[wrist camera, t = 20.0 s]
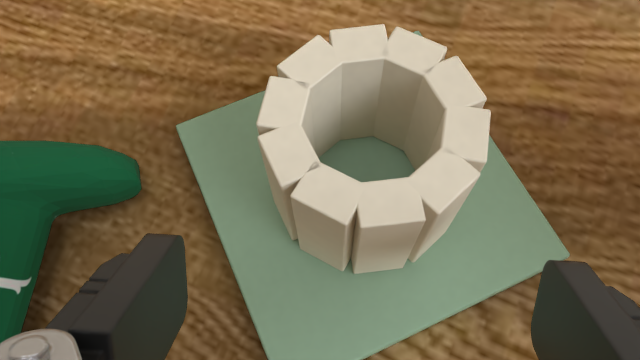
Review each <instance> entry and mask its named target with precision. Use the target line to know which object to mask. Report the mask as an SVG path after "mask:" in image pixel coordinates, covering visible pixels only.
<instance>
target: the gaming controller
mask: <svg viewBox="0 0 640 360" xmlns="http://www.w3.org/2000/svg"><path fill="white" fill-rule="evenodd" d="M140 190H141V180H140V171H139V165H138V163H137V161H136V160H134V159H132V158H130V157H128V156H127V155H125V154H123V153H120V152H117V151H114V150H110V149H107V148H104V147H101V146H97V145H87V144H76V143H66V142H54V141H0V343H1V342H3V341H5V340H7V339H9V338H11V337H13V336H15V335H18V334H20V333H21V330H22V327H23V323H24V320H25V317H26V313H27V310H28V307H29V303H30V300H31V297H32V293H33V290H34V287H35V283H36V280H37V276H38V273H39V269H40V265H41V262H42V258H43V255H44V251H45V247H46V244H47V240H48V236H49V233H50V229H51V225H52V222H53V221H54V220H55V218H56V217H58V216H59V215H61V214H64V213H68V212H73V211H78V210H84V209H90V208H95V207H101V206H107V205H112V204H116V203H119V202H122V201H125V200H127V199H130V198H132V197H134V196H136V195H137V194H138V193H139V192H140Z"/></svg>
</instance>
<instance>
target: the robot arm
mask: <svg viewBox="0 0 640 360" xmlns="http://www.w3.org/2000/svg"><path fill="white" fill-rule="evenodd" d="M187 299H188V295H187V278H186V262H185V246H184V241H183V238H182V236H180V235H165V234H150V233H149V234H146V235H145V236H144V237H143V238H142V240H141V241H140V242H139V243H138V245H137V246H136V247H135V248H134V249H133V251H132V252H131V253H130V254H123V253H121V254H119V255H118V256H116V257H114V258H112V259H111V260H109V261H107V262H105V263H104V264H102V265H101V266H100V267H99V268H98V269H97V270H96V272H95V273H94V274H93V275H92V276H91V277H90V278H89V281H87V282H86V283H85V284H84V285H83V286H82V287H81V288H80V289H79V293H76V294H75V295H74V296H73V297H72V298H71V300H70V301H69V302H68V303H67V304H66V305H65V306H64V307H63V309H62V310H61V311H60V312H59V313H58V314H57V315H56V316H55V318H54V319H53V320H52V321H51V322H50V323H49V324H48V325H47V327H46V328H45V329H38V330H32V331H27V332H24V333H21V334H18V335H15V336H13V337H11V338H9V339H7V340H5V341H3V342H1V343H0V360H165V358H166V356H167V354H168V352H169V350H170V348H171V346H172V344H173V342H174V340H175V338H176V336H177V334H178V332H179V330H180V328H181V326H182V324H183V321H184V318H185V314H186V309H187ZM531 337H532V343H533V347H534V350H535V352H536V354H537V356H538V358H539V360H640V308H639V307H638V306H637V304H636V303H635V302H634V301H633V300H631V299H630V298H628V297H627V296H625V295H624V294H622V293H621V292H619V291H618V290H616V289H615V288H613V287H611V286H605V285H604V283H603V282H602V281H601V280H600V278H599V277H598V276H597V275H596V273H595V272H594V271H593V270H592V268H591V267H590V266H589V265H588V264H587V263H585V262H576V261H560V260H548V261H547V262H546V263H545V265H544V267H543V271H542V275H541V280H540V284H539V289H538V294H537V298H536V303H535V307H534V312H533V317H532V322H531Z"/></svg>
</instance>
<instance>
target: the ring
mask: <svg viewBox="0 0 640 360" xmlns="http://www.w3.org/2000/svg"><path fill="white" fill-rule="evenodd" d="M446 51H447V47H446V46H443V45H441V44H438V43H436V42H434V41H431V40H429V39H426V38H424V37H422V36H419V35H417V34H414V33H412V32H410V31H407V30H405V29H402V28H400V27H396V28H395V29H394V31H393V32H392V34H391V35H390V37H389V39H388V38H387V33H386V29H385V25H384V24H381V25H372V26H362V27H353V28H344V29H335V30H330V32H329V43H328V42H327V41H326V40H324V39H323V38H322V37H321V36H320V35H317V36H316V37H314V38H313V39H312V40H310V41H309V42H308V43H306V44H305V45H304V46H302V47H301V48H300V49H298V50H297V51H296V52H294V53H293V54H292V55H290V56H289V57H288V58H286V59H285V60H284V61H282V62H281V63H280V64H278V65H277V71H278V77H276V76H270V77H269V80H268V84H267V87H266V91H265V94H264V98H263V101H262V105H261V108H260V112H259V115H258V119H257V122H256V125H257V129H258V133H259V136H258V143H259V147H260V150H261V154H262V158H263V162H264V165H265V169H266V173H267V177H268V180H269V184H270V188H271V191H272V195H273V199H274V202H275V204H276V206H277V209H278V211H279V213H280V215H281V217H282V220H283V222H284V224H285V226H286V228H287V230H288V233H289V235H290V237H291V239H292V240H296V239H298V240H299V246H300V249H301V250H303V251H305V252H307V253H309V254H310V255H312V256H314V257H316V258H318V259H320V260H322V261H323V262H325V263H327V264H329V265H331V266H333V267H335V268H336V269H338V270H340V271H344V269H345V268H346V266H347V264H348V262H349V260H350V259H351V261H352V268H353V273H354V274H359V273H367V272H375V271H384V270H392V269H400V268H403V267H404V265H405V263H406V261H407V258H408V259H409V260H410V261H411V262H415V261H416V260H417V259H418V258H419V257H420V256H421V255H422V254H423V253H424V252H425V251H427V250H428V249H429V248H430V247H431V246H432V245H433V244H434V243H435V242H436V241H437V240H438V239H439V238H440V237H441V236H442V235H443V234H444V233H445V232H446V231H447V229H448V227H449V226H450V224H451V222H452V221H453V219H454V218H455V216H456V214H457V213H458V211H459V209H460V208H461V206H462V205H463V203H464V201H465V200H466V198H467V196H468V195H469V193H470V192H471V190H472V188H473V187H474V185H475V183H476V182H477V180H478V179H479V177H480V175H481V174H480V172H481V170H482V169H483V167H484V165H485V164H486V162H487V154H488V142H489V129H490V116H491V112H490V110H488V109H482V108H483V106H484V104H485V102H486V100H487V99H486V96H485V94H484V93H483V92H482V90H481V89H480V87H479V86H478V84H477V83H476V82H475V80H474V79H473V77H472V76H471V74H470V73H469V72H468V70H467V69H466V67H465V66H464V65H463V63H462V62H461V60H460V59H459V57H458V56H454V57H451V58H449V59H446V60H444V58H445V54H446ZM371 136H374V137H376V138H378V139H380V140H382V141H384V142H386V143H388V144H391V145H393V146H395V147H397V148H399V149H401V150H403V151H404V152H405V154H406V156H407V157H408V159H409V161H410V162H411V164H412V166H413V168H414V169H415V172H414V173H412V174H411V175H410V176H409V177H404V178H396V179H387V180H379V181H370V182H362V183H361V182H359V181H357V180H355V179H353V178H351V177H349V176H347V175H345V174H343V173H341V172H339V171H337V170H335V169H333V168H331V167H329V166H327V165H325V164H323V163H321V162H320V160H319V157H320V156H321V155H323V154H324V153H325V152H326V151H327V150H329V149H330V148H331V147H332V146H333V145H335V144H336V143H337V142H338V141H339V140H345V139H354V138H363V137H371Z"/></svg>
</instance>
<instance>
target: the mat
mask: <svg viewBox="0 0 640 360" xmlns="http://www.w3.org/2000/svg"><path fill="white" fill-rule="evenodd" d="M413 33H414V34H417V35H419V36H422V35H421V33H420V32H419V31H415V32H413ZM422 37H423V36H422ZM265 91H266V90H265ZM265 91H262V92H259V93H257V94H254V95H252V96H249V97H247V98H244V99H242V100H239V101H236V102H234V103H231V104H229V105H226V106H224V107H221V108H219V109H216V110H213V111H211V112H208V113H206V114H203V115H201V116H198V117H196V118H193V119H190V120H188V121H185V122H183V123H180V124H178V125H176V129H177V132H178V134H179V137H180V139H181V142H182V144H183V147H184V149H185V152H186V155H187V157H188V160H189V162H190V165H191V167H192V170H193V172H194V175H195V177H196V180H197V182H198V185H199V187H200V190H201V192H202V195H203V197H204V200H205V202H206V205H207V207H208V210H209V212H210V215H211V217H212V220H213V223H214V225H215V228H216V230H217V233H218V235H219V238H220V240H221V243H222V245H223V248H224V250H225V253H226V255H227V258H228V260H229V263H230V265H231V268H232V270H233V273H234V275H235V278H236V280H237V283H238V285H239V288H240V291H241V293H242V296H243V298H244V301H245V303H246V306H247V308H248V311H249V313H250V316H251V318H252V321H253V323H254V326H255V328H256V331H257V333H258V336H259V338H260V341H261V343H262V346H263V348H264V351H265V353H266V356H267V359H268V360H363V359H365V358H367V357H369V356H371V355H373V354H375V353H377V352H379V351H381V350H383V349H385V348H387V347H389V346H391V345H393V344H395V343H397V342H400V341H402V340H404V339H406V338H408V337H410V336H412V335H414V334H416V333H418V332H420V331H422V330H424V329H426V328H428V327H430V326H432V325H434V324H436V323H438V322H440V321H442V320H444V319H446V318H448V317H450V316H453V315H455V314H457V313H459V312H461V311H463V310H465V309H467V308H469V307H471V306H473V305H475V304H477V303H479V302H481V301H483V300H485V299H487V298H489V297H491V296H493V295H495V294H497V293H499V292H501V291H503V290H506V289H508V288H510V287H512V286H514V285H516V284H518V283H520V282H522V281H524V280H526V279H528V278H530V277H532V276H534V275H536V274H538V273H540V272H542V271H543V267H544V265H545V263H546V262H547V261H548V260H560V261H564V260H565V259H567V258H568V257H569V256H570V254H569V252H568V251H567V249H566V248H565V246H564V245H563V243H562V242H561V240H560V239H559V237H558V236H557V234H556V233H555V231H554V230H553V229H552V227H551V226H550V224H549V223H548V221H547V220H546V218H545V217H544V215H543V214H542V212H541V211H540V209H539V208H538V206H537V205H536V203H535V202H534V200H533V199H532V197H531V196H530V195H529V193H528V192H527V190H526V189H525V187H524V186H523V184H522V183H521V181H520V180H519V178H518V177H517V175H516V174H515V172H514V171H513V169H512V168H511V166H510V165H509V163H508V162H507V161H506V159H505V158H504V156H503V155H502V153H501V152H500V150H499V149H498V147H497V146H496V144H495V143H494V141H493V140H492V138H491V137H490V135H489V142H488V154H487V162H486V164H485V165H484V167H483V169H482V170H481V172H480V174H481V175H480V177H479V179H478V180H477V182H476V183H475V185H474V187H473V188H472V190H471V192H470V193H469V195H468V196H467V198H466V200H465V201H464V203H463V205H462V206H461V208H460V209H459V211H458V213H457V214H456V216H455V218H454V219H453V221H452V222H451V224H450V226H449V227H448V229H447V231H446V232H445V233H444V234H443V235H442V236H441V237H440V238H439V239H438V240H437V241H436V242H435V243H434V244H433V245H432V246H431V247H430V248H429V249H428V250H427V251H425V252H424V253H423V254H422V255H421V256H420V257H419V258H418V259H417V260H416V261H415V262H411V261H410V260H409V259H408V258H407V261H406V263H405V265H404V267H403V268H400V269H392V270H384V271H375V272H367V273H359V274H354V273H353V268H352V261H351V259H350V260H349V262H348V264H347V266H346V268H345V269H344V271H340V270H338V269H336V268H335V267H333V266H331V265H329V264H327V263H325V262H323V261H322V260H320V259H318V258H316V257H314V256H312V255H310V254H309V253H307V252H305V251H303V250H301V249H300V246H299V240H298V239H296V240H292V239H291V237H290V235H289V233H288V230H287V228H286V226H285V224H284V222H283V220H282V217H281V215H280V213H279V211H278V209H277V206H276V204H275V202H274V199H273V195H272V191H271V188H270V184H269V180H268V177H267V173H266V169H265V165H264V162H263V158H262V154H261V150H260V147H259V143H258V136H259V133H258V129H257V125H256V122H257V119H258V115H259V112H260V108H261V105H262V101H263V98H264V94H265ZM319 160H320V162H321V163H323V164H325V165H327V166H329V167H331V168H333V169H335V170H337V171H339V172H341V173H343V174H345V175H347V176H349V177H351V178H353V179H355V180H357V181H359V182H361V183H362V182H370V181H379V180H387V179H396V178H404V177H409V176H410V175H411V174H412V173H414V172H415V169H414V168H413V166H412V164H411V162H410V161H409V159H408V157H407V156H406V154H405V152H404V151H403V150H401V149H399V148H397V147H395V146H393V145H391V144H388V143H386V142H384V141H382V140H380V139H378V138H376V137H374V136H371V137H363V138H354V139H345V140H339V141H338V142H337V143H336V144H335V145H333V146H332V147H331V148H330V149H329V150H327V151H326V152H325V153H324V154H323V155H321V156H320V157H319Z"/></svg>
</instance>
